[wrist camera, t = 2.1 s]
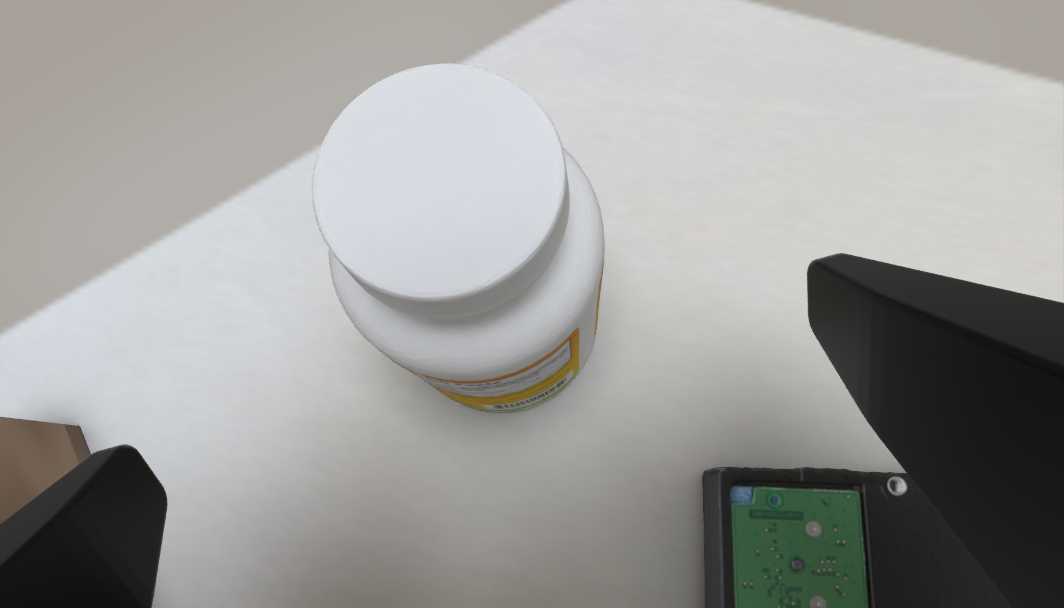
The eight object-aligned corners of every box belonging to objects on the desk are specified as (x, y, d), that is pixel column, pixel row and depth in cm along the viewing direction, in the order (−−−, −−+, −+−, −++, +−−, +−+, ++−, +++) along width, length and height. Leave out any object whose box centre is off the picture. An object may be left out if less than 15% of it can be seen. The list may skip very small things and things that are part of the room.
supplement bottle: (467, 205, 21) (376, -25, 11) (628, 281, 20) (673, 98, 10) (377, 360, 20) (195, 247, 10) (542, 449, 19) (507, 413, 9)
